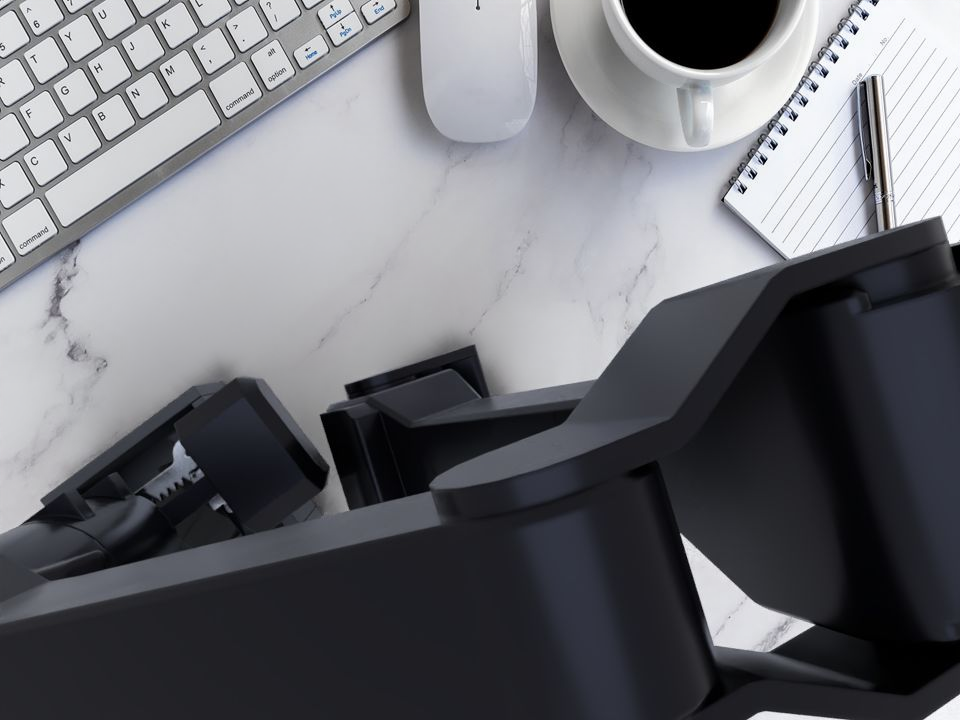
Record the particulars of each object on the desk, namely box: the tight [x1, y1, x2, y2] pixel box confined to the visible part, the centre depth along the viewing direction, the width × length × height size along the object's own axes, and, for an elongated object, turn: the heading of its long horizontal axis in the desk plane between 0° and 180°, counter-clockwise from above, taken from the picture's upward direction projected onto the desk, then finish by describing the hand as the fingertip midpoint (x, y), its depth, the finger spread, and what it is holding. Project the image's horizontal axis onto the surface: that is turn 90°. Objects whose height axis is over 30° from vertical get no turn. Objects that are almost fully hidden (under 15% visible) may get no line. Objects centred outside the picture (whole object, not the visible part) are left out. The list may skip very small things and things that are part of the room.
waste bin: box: [39, 380, 325, 551], centre depth 48 cm, size 10×10×6 cm
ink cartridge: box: [149, 461, 240, 548], centre depth 47 cm, size 5×2×8 cm, turn 55°
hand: (181, 514), depth 46 cm, fingers open, 7 cm apart
